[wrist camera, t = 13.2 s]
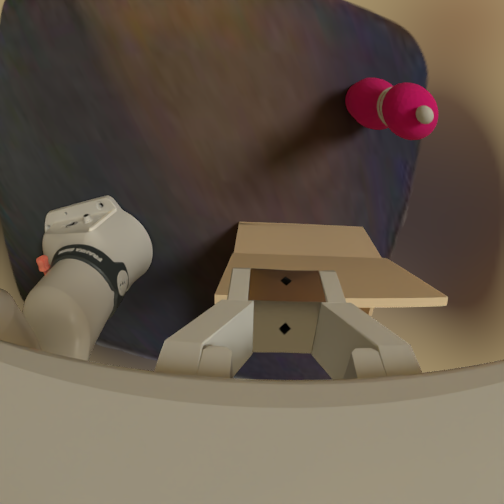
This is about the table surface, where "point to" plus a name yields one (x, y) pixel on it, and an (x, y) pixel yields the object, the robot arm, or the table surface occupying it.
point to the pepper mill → (393, 107)
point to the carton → (305, 241)
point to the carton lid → (347, 279)
